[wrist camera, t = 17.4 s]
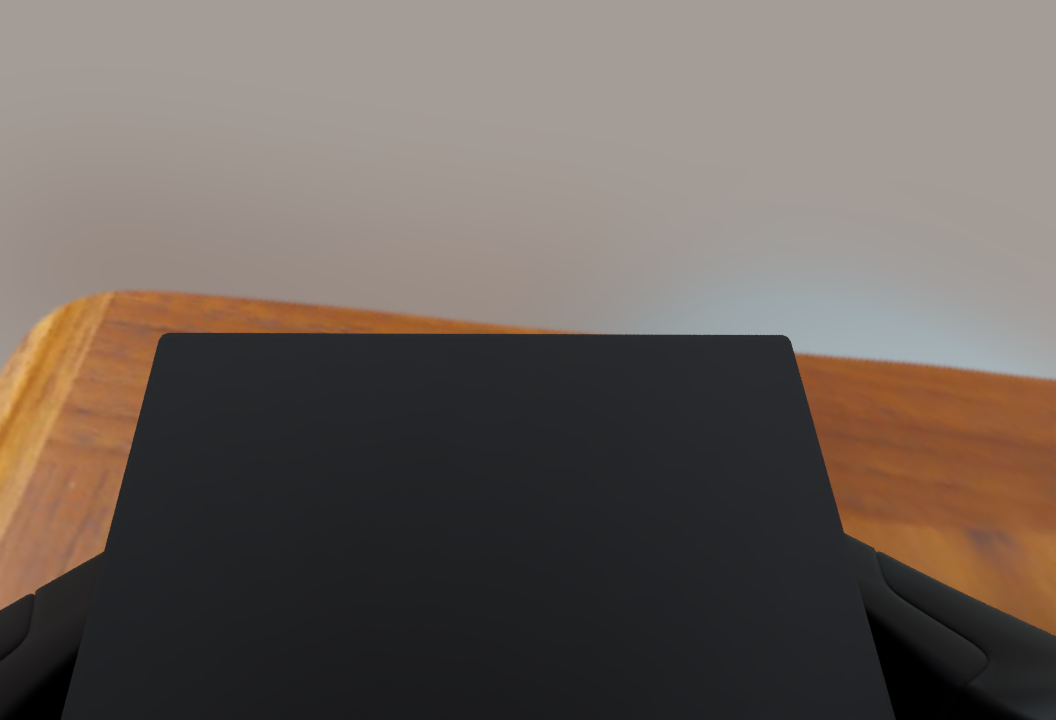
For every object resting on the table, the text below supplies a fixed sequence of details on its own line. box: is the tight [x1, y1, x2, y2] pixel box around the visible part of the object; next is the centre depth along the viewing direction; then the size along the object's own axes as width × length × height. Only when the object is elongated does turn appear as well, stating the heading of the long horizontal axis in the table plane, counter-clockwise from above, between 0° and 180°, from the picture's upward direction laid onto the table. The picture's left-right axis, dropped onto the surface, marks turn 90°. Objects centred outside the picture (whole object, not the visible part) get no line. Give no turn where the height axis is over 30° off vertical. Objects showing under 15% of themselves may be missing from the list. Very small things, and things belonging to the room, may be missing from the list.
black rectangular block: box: [61, 333, 896, 720], centre depth 8 cm, size 4×6×8 cm, turn 93°
